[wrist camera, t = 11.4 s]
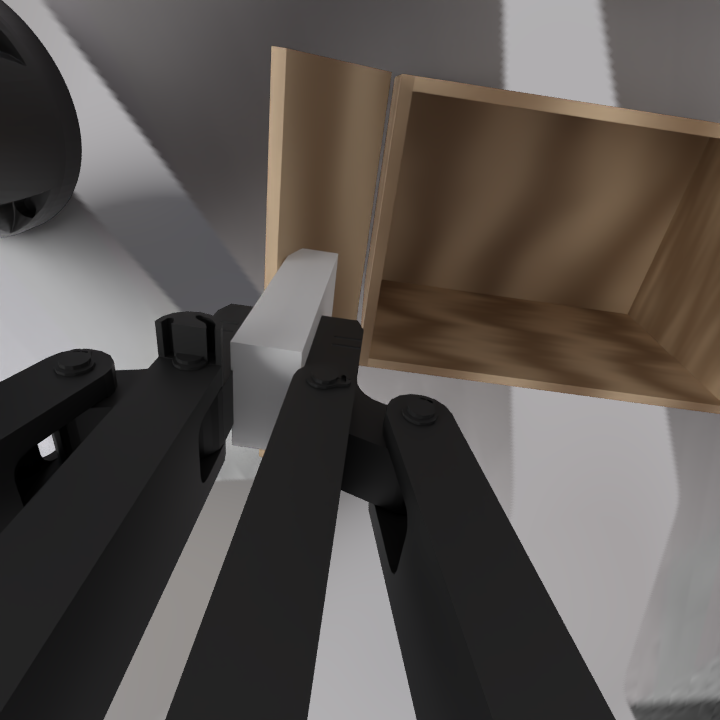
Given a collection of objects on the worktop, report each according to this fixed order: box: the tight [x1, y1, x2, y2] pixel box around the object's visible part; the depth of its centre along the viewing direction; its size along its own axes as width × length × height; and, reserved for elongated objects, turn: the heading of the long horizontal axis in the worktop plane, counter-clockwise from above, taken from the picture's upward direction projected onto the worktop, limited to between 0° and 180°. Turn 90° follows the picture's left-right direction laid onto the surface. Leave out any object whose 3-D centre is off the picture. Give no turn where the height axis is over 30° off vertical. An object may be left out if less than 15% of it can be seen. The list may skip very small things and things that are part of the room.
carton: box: [359, 74, 720, 414], centre depth 26 cm, size 20×13×12 cm, turn 82°
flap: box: [259, 46, 392, 457], centre depth 18 cm, size 8×13×1 cm
